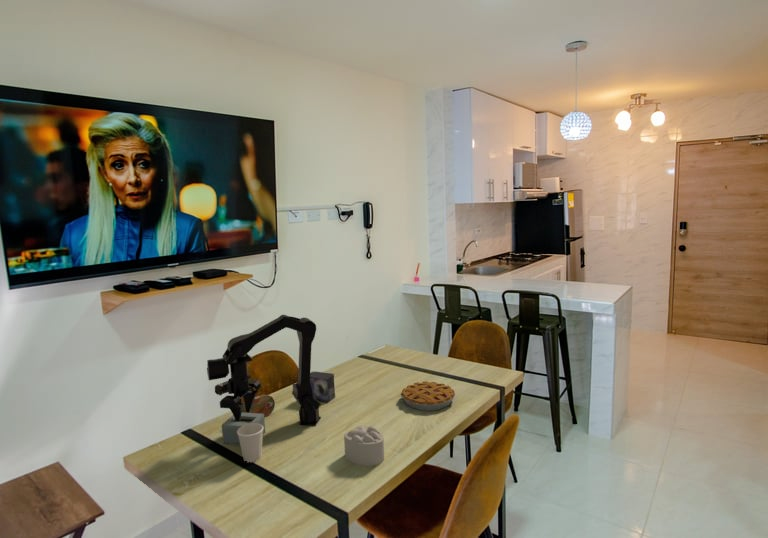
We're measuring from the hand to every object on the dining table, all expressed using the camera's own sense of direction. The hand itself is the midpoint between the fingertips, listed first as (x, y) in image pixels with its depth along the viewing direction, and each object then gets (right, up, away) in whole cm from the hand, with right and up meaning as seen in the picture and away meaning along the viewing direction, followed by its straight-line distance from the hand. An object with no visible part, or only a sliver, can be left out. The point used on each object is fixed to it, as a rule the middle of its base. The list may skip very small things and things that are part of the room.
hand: (243, 416), depth 167 cm
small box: (+23, -3, +33) cm, 40 cm away
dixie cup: (+7, -10, -12) cm, 17 cm away
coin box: (0, -8, +1) cm, 8 cm away
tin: (+1, -6, +16) cm, 17 cm away
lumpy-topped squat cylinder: (+44, -9, -14) cm, 47 cm away
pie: (+68, -2, +26) cm, 73 cm away
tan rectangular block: (0, -7, +1) cm, 7 cm away
